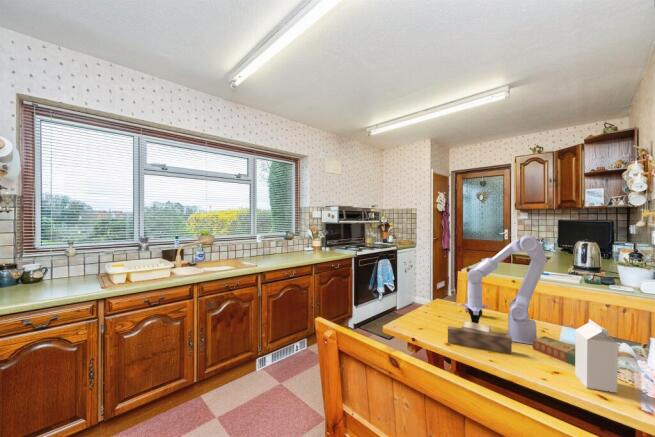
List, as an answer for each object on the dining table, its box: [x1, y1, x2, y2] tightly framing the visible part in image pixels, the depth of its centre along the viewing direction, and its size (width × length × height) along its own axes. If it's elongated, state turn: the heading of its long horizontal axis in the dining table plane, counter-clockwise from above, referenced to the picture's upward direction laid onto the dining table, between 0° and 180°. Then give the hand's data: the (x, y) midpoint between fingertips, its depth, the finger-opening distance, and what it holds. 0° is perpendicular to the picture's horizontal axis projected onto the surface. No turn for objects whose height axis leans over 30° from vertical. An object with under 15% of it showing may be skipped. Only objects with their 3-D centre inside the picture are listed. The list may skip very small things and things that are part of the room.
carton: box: [532, 335, 575, 367], centre depth 99 cm, size 8×16×4 cm, turn 25°
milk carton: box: [574, 318, 619, 394], centre depth 83 cm, size 7×7×19 cm
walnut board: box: [447, 325, 513, 355], centre depth 107 cm, size 22×2×6 cm, turn 65°
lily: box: [460, 296, 489, 313], centre depth 140 cm, size 12×12×10 cm
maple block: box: [461, 320, 492, 333], centre depth 116 cm, size 10×7×5 cm
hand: (474, 325), depth 122 cm, fingers closed
